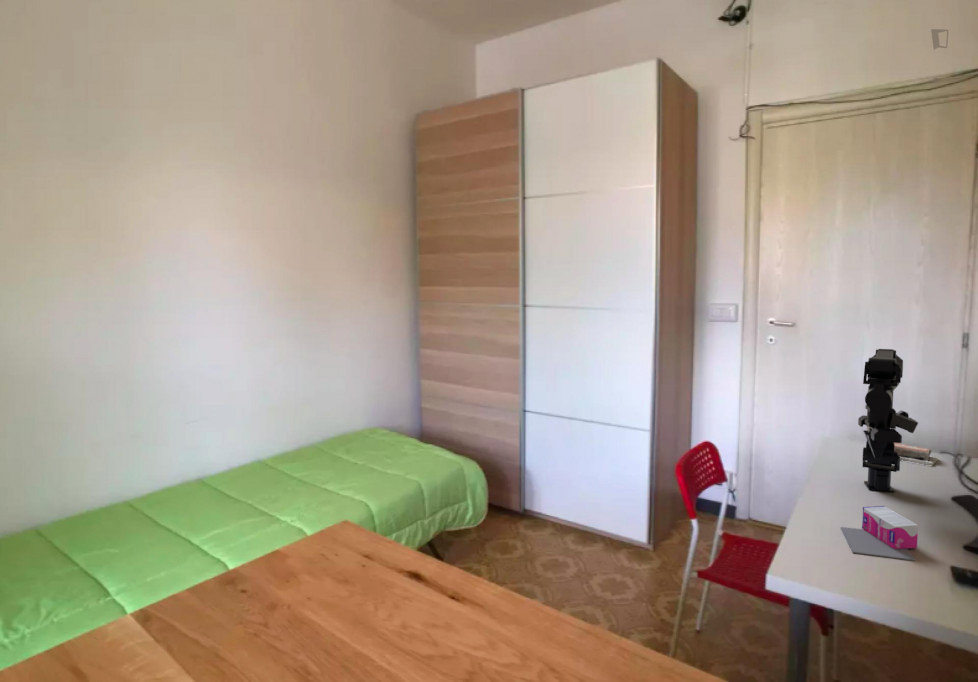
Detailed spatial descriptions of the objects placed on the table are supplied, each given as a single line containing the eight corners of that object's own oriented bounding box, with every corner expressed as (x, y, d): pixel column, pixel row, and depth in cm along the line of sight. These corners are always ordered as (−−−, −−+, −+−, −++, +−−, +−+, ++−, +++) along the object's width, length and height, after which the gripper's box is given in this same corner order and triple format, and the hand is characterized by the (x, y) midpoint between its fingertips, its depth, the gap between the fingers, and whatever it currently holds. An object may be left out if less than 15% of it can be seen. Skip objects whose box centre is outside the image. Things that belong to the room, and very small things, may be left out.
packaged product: (869, 442, 202) (877, 437, 208) (868, 456, 202) (877, 450, 209) (932, 453, 188) (939, 447, 195) (931, 468, 189) (938, 461, 195)
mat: (840, 528, 147) (840, 526, 147) (896, 534, 142) (896, 533, 142) (852, 553, 134) (852, 551, 134) (914, 560, 129) (914, 559, 129)
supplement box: (861, 506, 145) (895, 526, 133) (883, 505, 145) (920, 524, 134) (860, 528, 145) (894, 549, 134) (883, 527, 146) (919, 548, 134)
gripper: (927, 413, 146) (923, 472, 148) (904, 398, 163) (901, 451, 165) (875, 410, 150) (873, 468, 152) (858, 396, 167) (856, 448, 169)
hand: (877, 458), depth 159 cm, fingers closed
